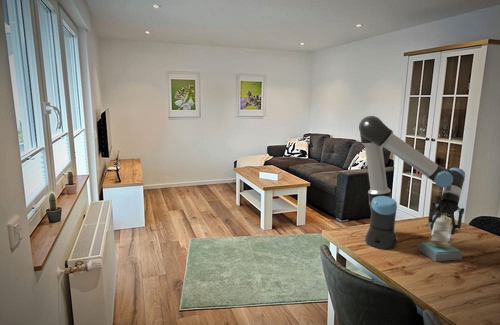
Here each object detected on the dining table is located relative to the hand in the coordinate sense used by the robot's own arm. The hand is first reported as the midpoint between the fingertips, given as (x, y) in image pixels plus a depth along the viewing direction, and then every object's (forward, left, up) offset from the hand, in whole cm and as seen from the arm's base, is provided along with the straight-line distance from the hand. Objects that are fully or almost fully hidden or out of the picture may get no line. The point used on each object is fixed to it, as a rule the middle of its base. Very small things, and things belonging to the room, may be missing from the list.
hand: (440, 237), depth 153 cm
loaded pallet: (+3, +2, -4) cm, 5 cm away
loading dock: (+3, +2, -10) cm, 10 cm away
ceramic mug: (+24, +31, -10) cm, 40 cm away
